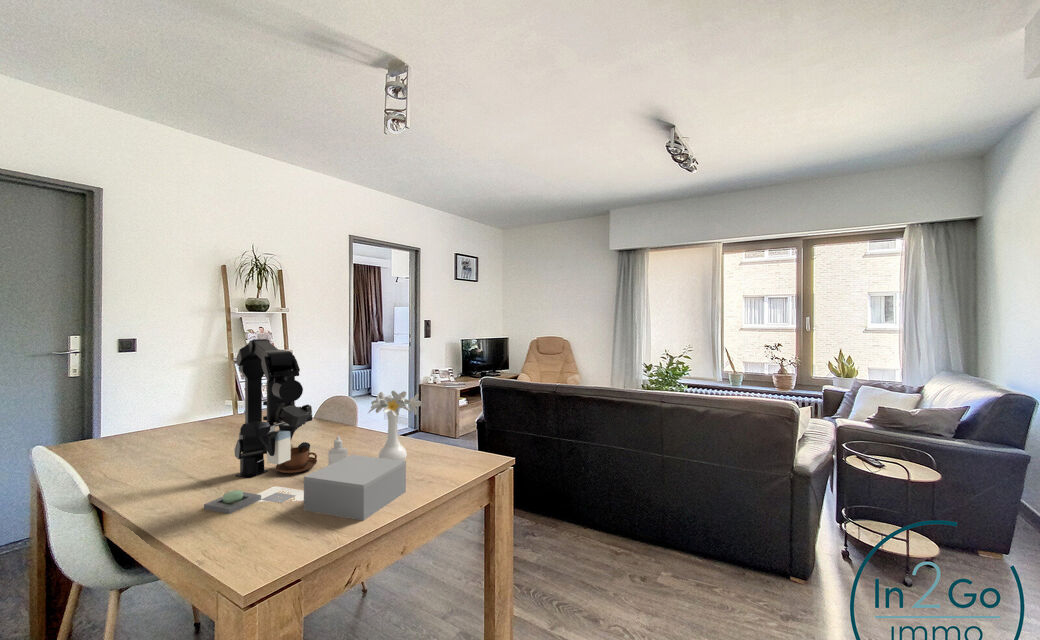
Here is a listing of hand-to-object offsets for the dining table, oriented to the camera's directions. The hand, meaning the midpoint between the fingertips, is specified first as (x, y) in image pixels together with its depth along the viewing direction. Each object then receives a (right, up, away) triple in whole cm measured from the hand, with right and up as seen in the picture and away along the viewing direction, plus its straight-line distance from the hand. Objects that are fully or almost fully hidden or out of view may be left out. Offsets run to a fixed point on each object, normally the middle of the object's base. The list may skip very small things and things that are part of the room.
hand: (278, 453), depth 117 cm
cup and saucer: (-7, -12, +22) cm, 27 cm away
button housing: (-10, -13, -4) cm, 16 cm away
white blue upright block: (0, -2, 0) cm, 2 cm away
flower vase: (+23, -13, +28) cm, 39 cm away
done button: (-10, -11, -4) cm, 15 cm away
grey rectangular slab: (+23, -13, -2) cm, 26 cm away
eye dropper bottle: (+8, -13, +19) cm, 25 cm away
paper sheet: (0, -13, 0) cm, 13 cm away
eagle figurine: (-8, -13, +27) cm, 31 cm away
